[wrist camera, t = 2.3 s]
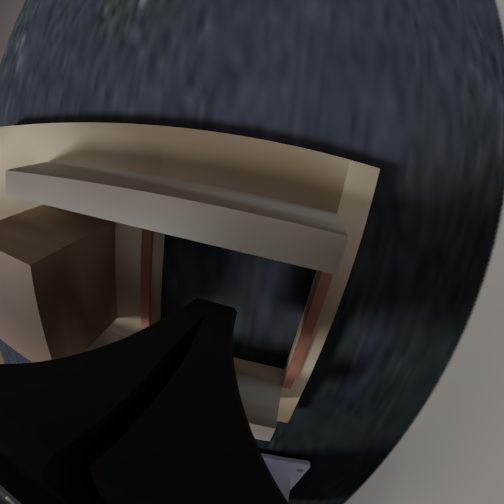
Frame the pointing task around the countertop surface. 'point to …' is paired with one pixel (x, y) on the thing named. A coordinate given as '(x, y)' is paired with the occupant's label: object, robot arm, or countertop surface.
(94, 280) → the walnut block
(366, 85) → the countertop surface
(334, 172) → the frame
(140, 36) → the countertop surface
